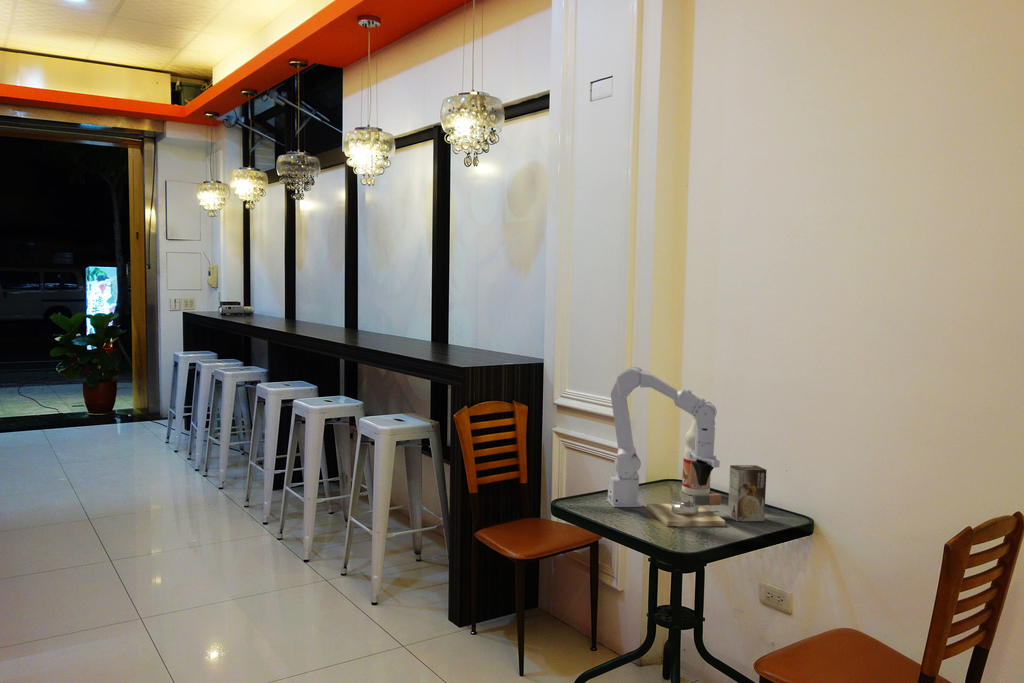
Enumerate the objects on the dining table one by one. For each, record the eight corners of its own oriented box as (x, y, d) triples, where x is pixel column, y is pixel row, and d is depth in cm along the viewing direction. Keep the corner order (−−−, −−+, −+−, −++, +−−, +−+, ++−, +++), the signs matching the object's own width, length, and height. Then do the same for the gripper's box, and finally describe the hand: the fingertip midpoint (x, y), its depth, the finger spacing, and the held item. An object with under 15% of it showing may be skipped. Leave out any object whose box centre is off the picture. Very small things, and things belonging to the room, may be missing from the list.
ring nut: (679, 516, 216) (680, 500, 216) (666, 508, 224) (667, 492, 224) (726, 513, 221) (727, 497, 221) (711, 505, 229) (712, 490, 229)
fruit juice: (701, 498, 244) (706, 416, 242) (676, 492, 250) (680, 412, 248) (714, 493, 251) (718, 413, 249) (689, 487, 257) (694, 409, 255)
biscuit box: (754, 515, 226) (757, 464, 225) (764, 521, 220) (767, 469, 219) (726, 515, 225) (729, 464, 224) (736, 522, 219) (739, 469, 218)
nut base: (667, 526, 211) (667, 521, 211) (646, 508, 229) (646, 503, 229) (731, 525, 214) (731, 520, 214) (706, 508, 232) (706, 503, 232)
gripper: (729, 446, 218) (726, 490, 219) (703, 436, 232) (700, 478, 233) (708, 446, 216) (706, 491, 217) (683, 437, 230) (681, 479, 231)
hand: (702, 485), depth 224 cm, fingers closed
